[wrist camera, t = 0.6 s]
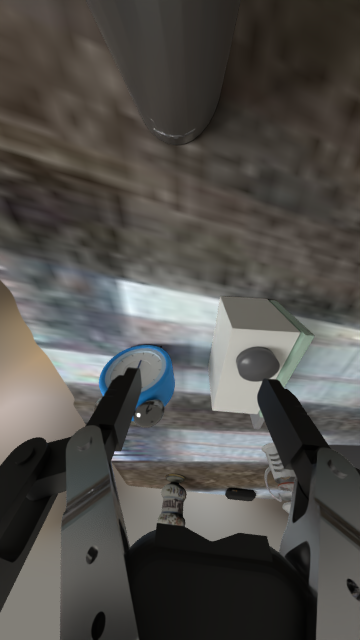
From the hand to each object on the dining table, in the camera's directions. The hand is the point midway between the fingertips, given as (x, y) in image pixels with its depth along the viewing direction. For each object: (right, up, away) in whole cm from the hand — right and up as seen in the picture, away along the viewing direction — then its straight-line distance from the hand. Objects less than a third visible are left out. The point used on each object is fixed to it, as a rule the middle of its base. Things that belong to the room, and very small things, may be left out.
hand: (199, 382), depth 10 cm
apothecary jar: (-4, -76, +69) cm, 103 cm away
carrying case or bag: (+31, -87, +74) cm, 118 cm away
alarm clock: (-9, -4, +26) cm, 27 cm away
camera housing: (+10, 0, +22) cm, 24 cm away
